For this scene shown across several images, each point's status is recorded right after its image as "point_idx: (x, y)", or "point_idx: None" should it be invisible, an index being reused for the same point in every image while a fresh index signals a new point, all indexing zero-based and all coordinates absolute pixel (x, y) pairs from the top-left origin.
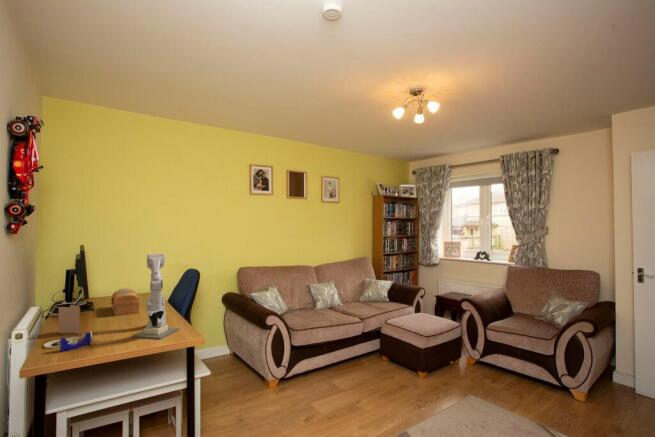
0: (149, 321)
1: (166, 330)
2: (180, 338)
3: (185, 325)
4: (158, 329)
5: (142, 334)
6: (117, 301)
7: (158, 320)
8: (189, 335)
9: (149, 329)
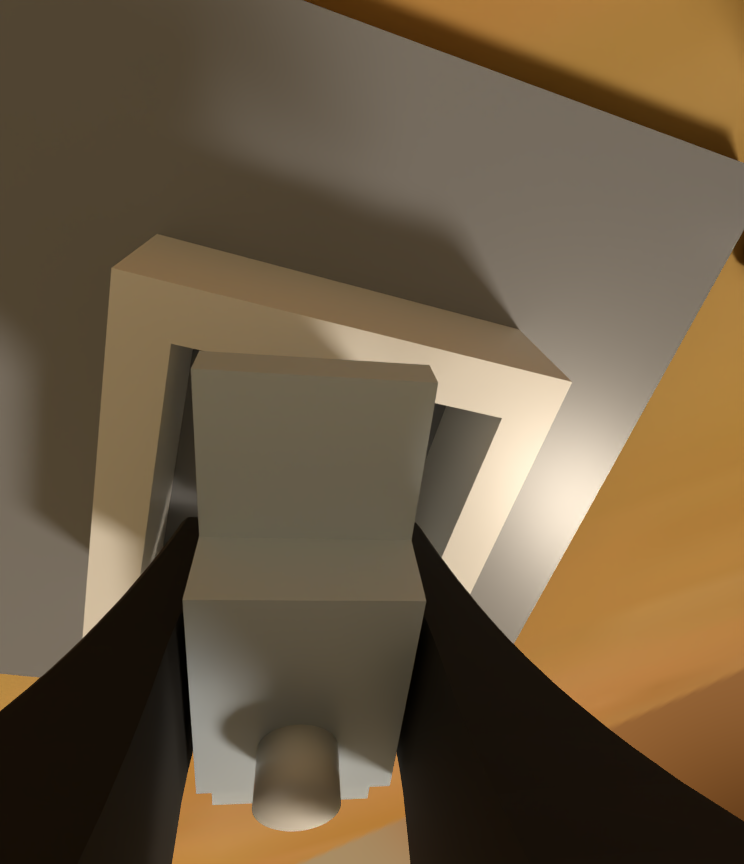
0: (345, 417)
1: None
2: None
3: (695, 682)
4: None
5: (76, 221)
6: None
7: (229, 778)
8: (210, 856)
9: (106, 439)
